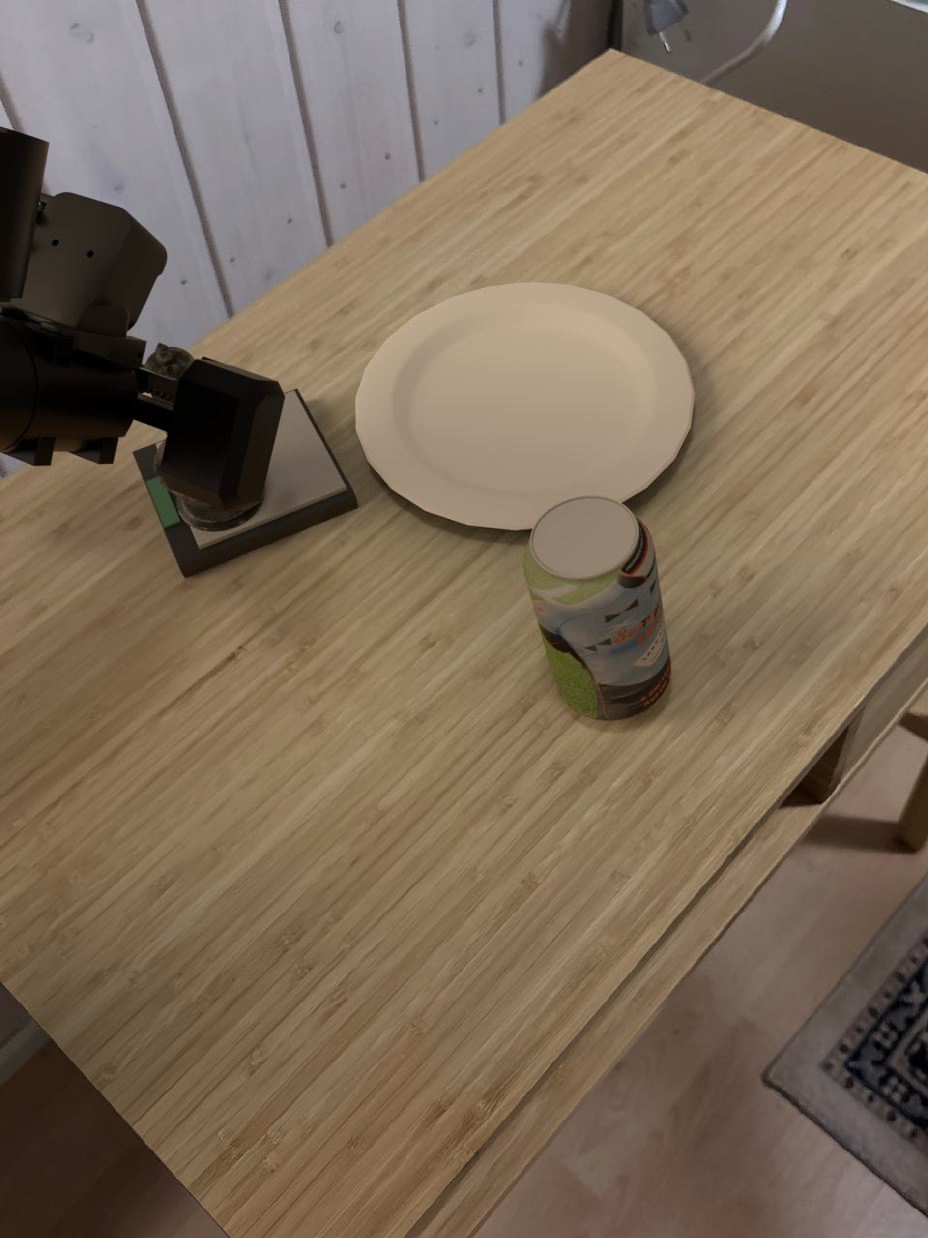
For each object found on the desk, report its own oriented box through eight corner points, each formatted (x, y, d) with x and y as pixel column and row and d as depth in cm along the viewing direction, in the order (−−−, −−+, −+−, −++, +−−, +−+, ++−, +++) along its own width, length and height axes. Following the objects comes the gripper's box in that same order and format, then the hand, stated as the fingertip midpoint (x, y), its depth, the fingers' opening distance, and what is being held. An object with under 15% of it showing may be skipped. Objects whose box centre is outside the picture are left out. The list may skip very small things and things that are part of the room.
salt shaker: (190, 550, 66) (120, 401, 56) (159, 482, 69) (87, 330, 59) (285, 510, 67) (233, 356, 57) (250, 445, 70) (195, 288, 60)
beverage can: (652, 746, 58) (665, 613, 48) (514, 708, 60) (500, 573, 50) (683, 646, 61) (702, 502, 51) (551, 612, 63) (545, 467, 53)
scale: (184, 578, 66) (176, 562, 65) (138, 464, 72) (129, 447, 71) (358, 507, 68) (354, 489, 67) (300, 401, 74) (295, 383, 72)
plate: (761, 457, 68) (765, 437, 66) (445, 600, 64) (442, 582, 63) (587, 260, 79) (587, 239, 77) (308, 372, 75) (303, 352, 74)
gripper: (203, 246, 43) (389, 294, 58) (-144, 140, 50) (101, 207, 64) (144, 524, 46) (335, 505, 61) (-177, 392, 52) (65, 402, 67)
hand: (205, 397), depth 63 cm, fingers open, 7 cm apart
